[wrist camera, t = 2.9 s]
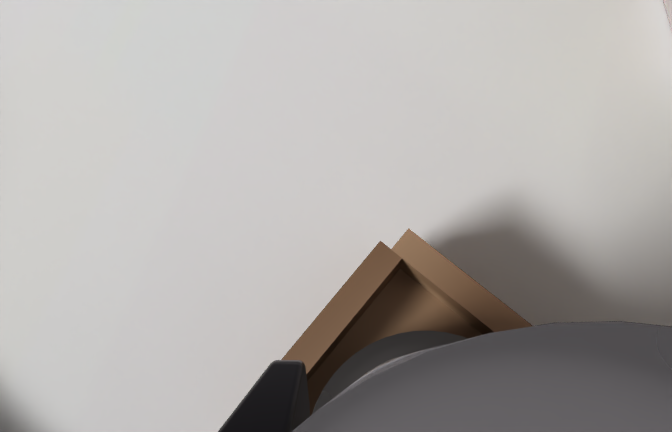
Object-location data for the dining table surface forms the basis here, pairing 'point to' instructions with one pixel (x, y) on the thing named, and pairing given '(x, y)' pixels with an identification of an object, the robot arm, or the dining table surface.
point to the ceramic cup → (668, 10)
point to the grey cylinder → (505, 382)
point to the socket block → (397, 308)
